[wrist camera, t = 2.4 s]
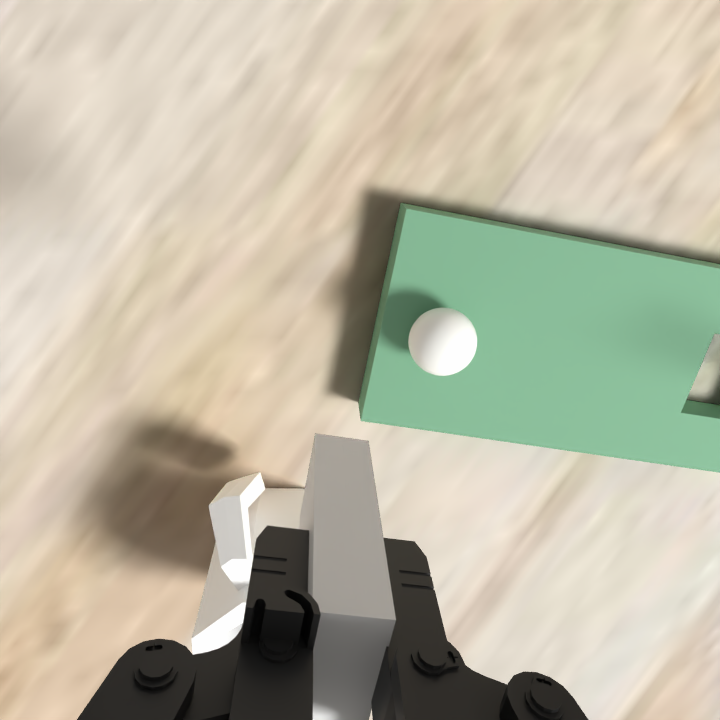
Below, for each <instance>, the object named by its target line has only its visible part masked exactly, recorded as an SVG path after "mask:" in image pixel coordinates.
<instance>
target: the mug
mask: <svg viewBox="0 0 720 720" xmlns="http://www.w3.org/2000/svg"><path fill="white" fill-rule="evenodd" d="M304 491H305V488H265V486H264V483H263V480H262V477H261V473H260V472H258V473H254V474H251V475H248V476H244V477H241V478H238V479H235V480H232V481H229V482H227V483H226V484H225V486H224V487H223V488H222V489H221V491H220V492H219V493H218V494H217V496H216V497H215V498H214V499H213V501H212V502H211V503H210V504H209V511H210V516H211V521H212V525H213V530H214V535H215V540H216V543H215V547H214V551H213V555H212V559H211V563H210V567H209V571H208V575H207V579H206V583H205V587H204V591H203V595H202V599H201V603H200V607H199V611H198V615H197V619H196V623H195V627H194V632H193V636H192V651H193V654H199V653H204V652H208V651H212V650H215V649H219V648H220V647H222V646H224V645H226V644H228V643H229V642H230V641H231V640H233V639H234V638H235V637H236V636H237V634H238V633H239V631H240V630H241V628H242V624H243V620H244V613H245V607H246V600H247V593H248V587H249V581H250V574H251V568H252V562H253V556H254V549H255V543H256V538H257V537H258V536H259V535H260V533H261V532H262V531H263V530H264V529H265V527H266V526H267V525H268V526H277V527H285V528H293V529H299V525H300V512H301V507H302V501H303V496H304Z"/></svg>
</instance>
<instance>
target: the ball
mask: <svg viewBox="0 0 720 720" xmlns="http://www.w3.org/2000/svg"><path fill="white" fill-rule="evenodd" d="M408 345H409V350H410V354H411V356H412V358H413V360H414V361H415V363H416V364H417V365H418V366H419V367H420V368H421V369H423V370H424V371H426V372H428V373H430V374H433V375H438V376H447V375H452V374H455V373H457V372H459V371H461V370H463V369H464V368H465V367H466V366H467V365H468V364H469V363H470V362H471V360H472V359H473V357H474V355H475V352H476V348H477V335H476V331H475V328H474V326H473V324H472V323H471V321H470V320H469V319H468V318H467V317H466V316H465V315H464V314H462V313H461V312H459V311H457V310H454V309H451V308H435V309H432V310H429V311H427V312H425V313H424V314H422V315H421V316H420V317H419V318H418V319H417V320H416V321H415V322H414V324H413V326H412V328H411V330H410V333H409V339H408Z"/></svg>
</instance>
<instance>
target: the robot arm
mask: <svg viewBox="0 0 720 720" xmlns="http://www.w3.org/2000/svg"><path fill="white" fill-rule="evenodd" d="M433 588H434V586H433V582H432V578H431V577H430V570H429V566H428V561H427V557H426V556H425V555H424V553H423V552H422V551H421V549H420V548H419V547H418V545H417V544H416V543H415V542H414V541H406V540H397V539H389V538H383V532H382V525H381V519H380V512H379V506H378V499H377V493H376V486H375V480H374V473H373V467H372V460H371V454H370V447H369V441H366V440H359V439H352V438H345V437H337V436H330V435H323V434H316V433H315V437H314V443H313V448H312V453H311V459H310V464H309V469H308V475H307V480H306V485H305V491H304V496H303V501H302V507H301V512H300V525H299V529H293V528H285V527H277V526H268V525H267V526H266V527H265V529H264V530H263V531H262V532H261V533H260V535H259V536H258V537H257V538H256V543H255V549H254V556H253V562H252V568H251V574H250V581H249V587H248V593H247V600H246V607H245V613H244V620H243V624H242V628H241V630H240V631H239V633H238V634H237V636H236V637H235V638H234V639H233V640H231V641H230V642H229V643H228V644H226V645H224V646H222V647H220V648H219V649H215V650H212V651H208V652H204V653H199V654H193V655H192V653H191V652H190V651H189V650H188V649H187V647H185V646H183V645H182V644H180V643H178V642H176V641H173V640H165V639H155V640H149V641H144V642H142V643H140V644H138V645H136V646H134V647H132V648H130V649H129V650H128V651H127V652H126V653H125V654H124V655H123V656H122V657H121V658H120V659H119V660H118V661H117V663H116V664H115V665H114V667H113V668H112V670H111V671H110V673H109V674H108V676H107V677H106V678H105V680H104V681H103V683H102V684H101V686H100V687H99V689H98V690H97V691H96V693H95V694H94V696H93V697H92V699H91V700H90V702H89V703H88V704H87V706H86V707H85V709H84V710H83V712H82V713H81V715H80V716H79V717H78V719H77V720H369V716H370V713H371V709H372V715H373V720H588V719H587V717H586V716H585V714H584V713H583V711H582V710H581V708H580V707H579V705H578V704H577V702H576V701H575V699H574V698H573V697H572V696H571V695H570V693H569V692H568V691H567V690H566V689H565V688H564V687H563V686H562V685H560V684H559V683H558V682H556V681H555V680H553V679H552V678H550V677H548V676H545V675H542V674H540V673H537V672H522V673H519V674H516V675H514V676H513V678H512V679H511V680H510V682H509V683H508V685H507V684H504V683H501V682H499V681H496V680H493V679H491V678H488V677H486V676H483V675H481V674H479V673H477V672H475V671H473V670H471V669H470V668H468V667H467V666H466V665H465V663H464V661H463V659H462V657H461V655H460V653H459V652H458V651H457V650H456V648H455V647H454V646H453V645H452V644H451V643H450V642H448V641H447V639H446V635H445V631H444V627H443V623H442V618H441V614H440V610H439V606H438V602H437V598H436V594H435V590H433Z"/></svg>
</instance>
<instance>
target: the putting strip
mask: <svg viewBox="0 0 720 720" xmlns="http://www.w3.org/2000/svg"><path fill="white" fill-rule="evenodd" d="M435 308H451V309H454V310H457V311H459V312H461V313H462V314H464V315H465V316H466V317H467V318H468V319H469V320H470V321H471V323H472V324H473V326H474V328H475V331H476V335H477V348H476V352H475V355H474V357H473V359H472V360H471V362H470V363H469V364H468V365H467V366H466V367H465V368H464V369H463V370H461V371H459V372H457V373H455V374H452V375H447V376H438V375H433V374H430V373H428V372H426V371H424V370H423V369H421V368H420V367H419V366H418V365H417V364H416V363H415V361H414V360H413V358H412V356H411V354H410V350H409V345H408V339H409V333H410V330H411V328H412V326H413V324H414V322H415V321H416V320H417V319H418V318H419V317H420V316H421V315H422V314H424V313H425V312H427V311H429V310H432V309H435ZM714 333H715V334H720V264H716V263H711V262H706V261H701V260H696V259H690V258H685V257H680V256H675V255H670V254H664V253H659V252H654V251H649V250H644V249H638V248H633V247H628V246H623V245H618V244H613V243H607V242H602V241H597V240H592V239H587V238H581V237H576V236H571V235H566V234H561V233H555V232H550V231H545V230H540V229H535V228H530V227H524V226H519V225H514V224H509V223H504V222H498V221H493V220H488V219H483V218H478V217H472V216H467V215H462V214H457V213H452V212H446V211H441V210H436V209H431V208H426V207H421V206H415V205H410V204H405V203H400V208H399V212H398V217H397V222H396V227H395V231H394V236H393V241H392V246H391V250H390V255H389V260H388V264H387V269H386V274H385V279H384V283H383V288H382V293H381V298H380V302H379V307H378V312H377V316H376V321H375V326H374V331H373V335H372V340H371V345H370V350H369V354H368V359H367V364H366V368H365V373H364V378H363V383H362V387H361V392H360V397H359V402H358V404H359V411H360V418H361V421H365V422H372V423H379V424H386V425H393V426H400V427H407V428H414V429H421V430H428V431H435V432H442V433H449V434H456V435H463V436H470V437H477V438H484V439H490V440H497V441H504V442H511V443H518V444H525V445H532V446H539V447H546V448H553V449H560V450H567V451H574V452H581V453H588V454H595V455H602V456H609V457H616V458H622V459H629V460H636V461H643V462H650V463H657V464H664V465H671V466H678V467H685V468H692V469H699V470H706V471H713V472H720V405H716V404H710V403H703V402H697V401H691V400H686V399H687V397H688V395H689V392H690V390H691V388H692V385H693V383H694V380H695V378H696V376H697V373H698V371H699V369H700V366H701V364H702V362H703V359H704V357H705V355H706V352H707V350H708V348H709V345H710V343H711V340H712V338H713V336H714Z"/></svg>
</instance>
